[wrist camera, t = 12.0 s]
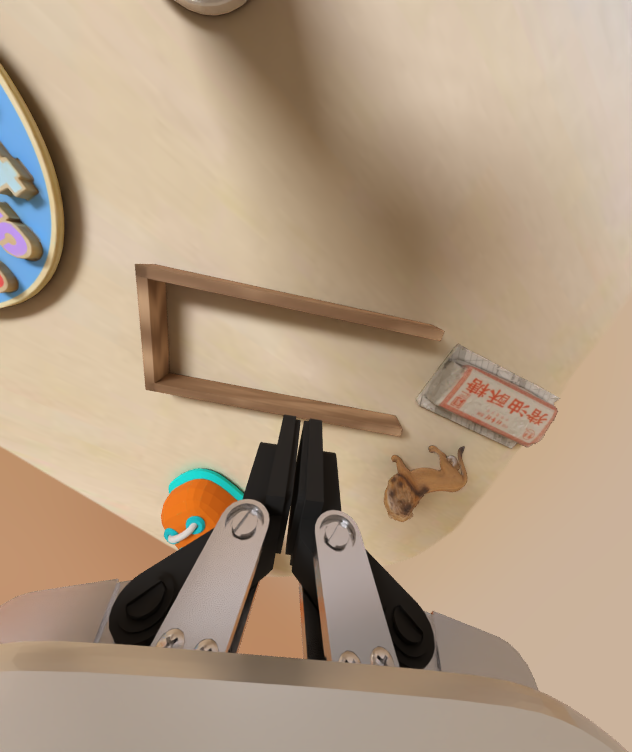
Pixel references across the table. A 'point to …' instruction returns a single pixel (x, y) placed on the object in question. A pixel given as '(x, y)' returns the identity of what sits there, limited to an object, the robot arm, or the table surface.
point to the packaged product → (489, 399)
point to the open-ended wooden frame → (161, 380)
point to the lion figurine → (422, 483)
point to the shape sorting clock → (26, 202)
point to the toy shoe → (196, 505)
